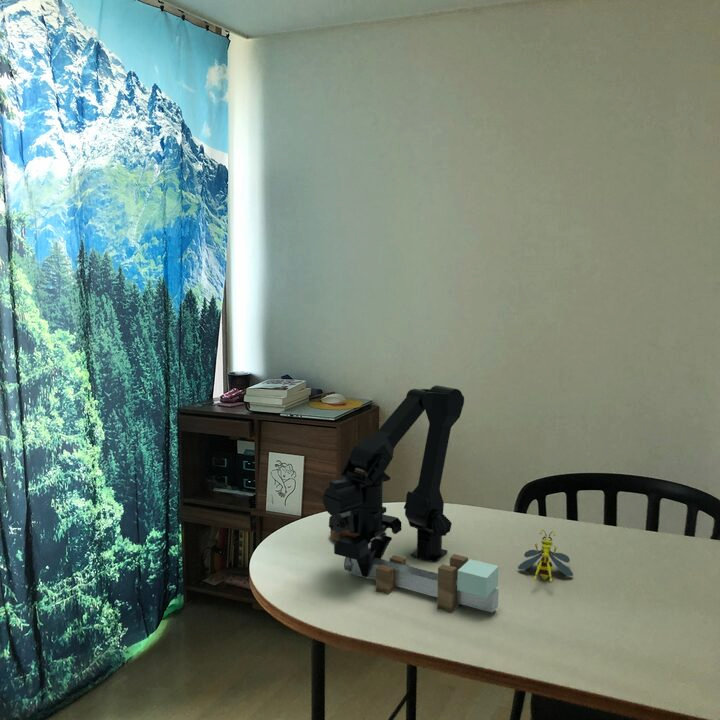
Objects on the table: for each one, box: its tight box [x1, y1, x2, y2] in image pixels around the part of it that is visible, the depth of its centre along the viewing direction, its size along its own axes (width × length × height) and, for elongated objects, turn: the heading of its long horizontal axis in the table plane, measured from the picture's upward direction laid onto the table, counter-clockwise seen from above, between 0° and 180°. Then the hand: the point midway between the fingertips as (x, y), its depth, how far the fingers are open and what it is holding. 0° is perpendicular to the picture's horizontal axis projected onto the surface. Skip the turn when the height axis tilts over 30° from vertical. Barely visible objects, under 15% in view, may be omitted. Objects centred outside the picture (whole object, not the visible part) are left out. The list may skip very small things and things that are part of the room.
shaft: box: [343, 557, 500, 614], centre depth 145 cm, size 4×34×4 cm, turn 58°
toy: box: [517, 529, 574, 582], centre depth 152 cm, size 12×8×15 cm
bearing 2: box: [436, 553, 469, 613], centre depth 141 cm, size 8×3×8 cm, turn 148°
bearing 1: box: [375, 554, 407, 596], centre depth 148 cm, size 8×3×5 cm, turn 148°
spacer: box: [457, 558, 499, 598], centre depth 138 cm, size 6×6×4 cm
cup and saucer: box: [330, 529, 358, 542], centre depth 173 cm, size 12×12×6 cm
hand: (368, 573), depth 152 cm, fingers closed on shaft, 3 cm apart
